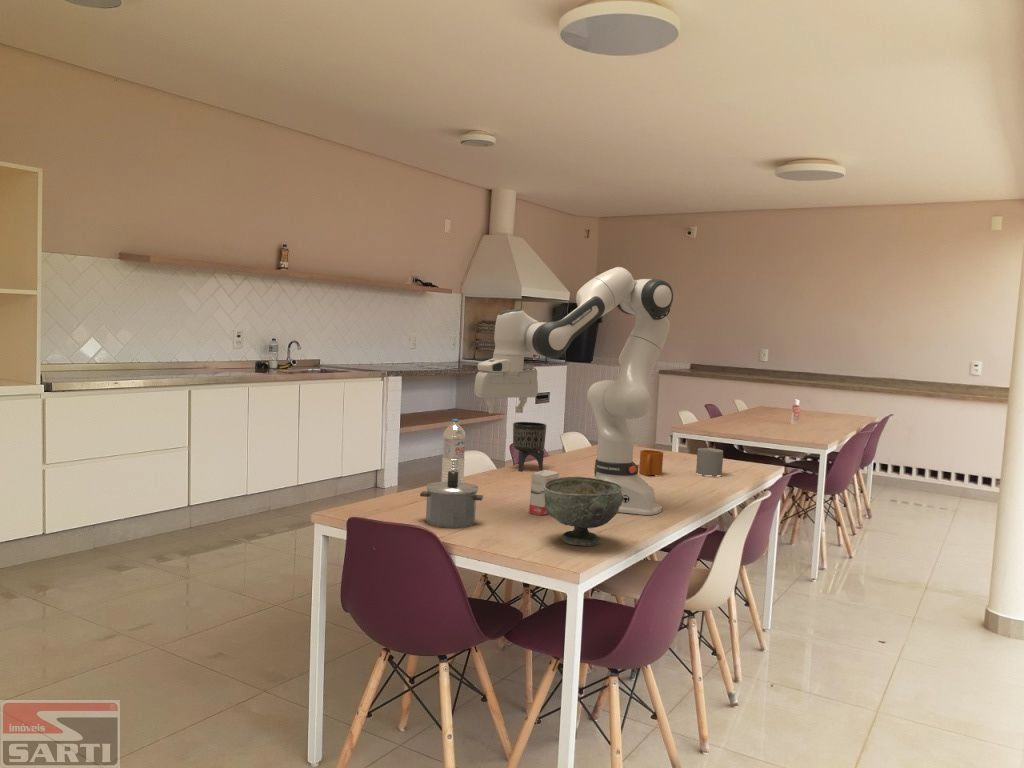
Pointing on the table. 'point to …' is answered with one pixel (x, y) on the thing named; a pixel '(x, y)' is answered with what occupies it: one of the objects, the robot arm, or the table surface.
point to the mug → (651, 462)
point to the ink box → (540, 491)
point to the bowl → (582, 505)
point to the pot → (450, 509)
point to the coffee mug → (709, 461)
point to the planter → (529, 441)
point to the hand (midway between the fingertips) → (505, 413)
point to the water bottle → (453, 451)
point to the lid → (452, 486)
